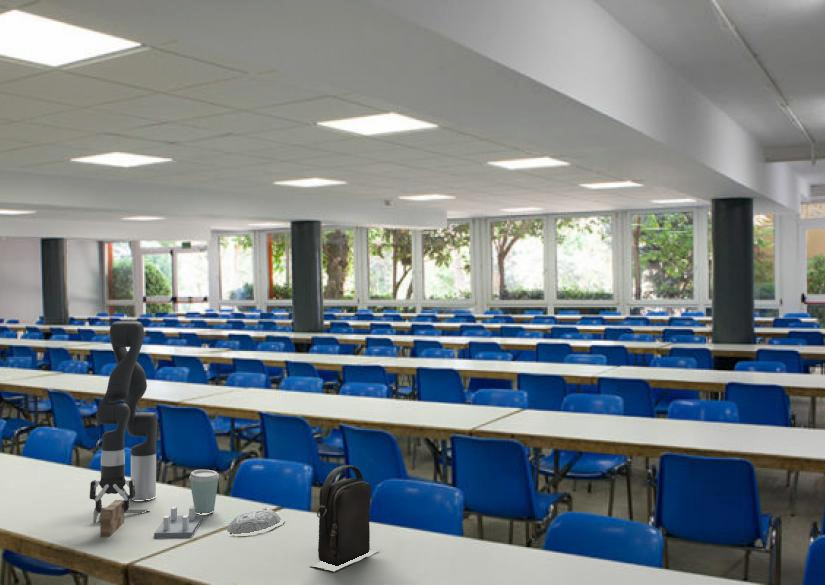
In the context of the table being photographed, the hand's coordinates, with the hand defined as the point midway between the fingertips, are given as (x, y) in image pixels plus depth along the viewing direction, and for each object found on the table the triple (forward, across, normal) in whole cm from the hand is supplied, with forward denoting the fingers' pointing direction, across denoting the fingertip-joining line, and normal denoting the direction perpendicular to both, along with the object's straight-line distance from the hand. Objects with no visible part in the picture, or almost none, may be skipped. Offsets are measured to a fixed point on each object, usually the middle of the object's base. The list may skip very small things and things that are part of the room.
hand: (112, 511), depth 263 cm
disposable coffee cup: (+6, -27, -18) cm, 33 cm away
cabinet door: (+6, 0, 0) cm, 6 cm away
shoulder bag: (+7, -78, +35) cm, 86 cm away
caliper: (+6, +1, -15) cm, 17 cm away
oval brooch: (+7, -47, 0) cm, 48 cm away
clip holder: (+6, -22, 0) cm, 23 cm away
